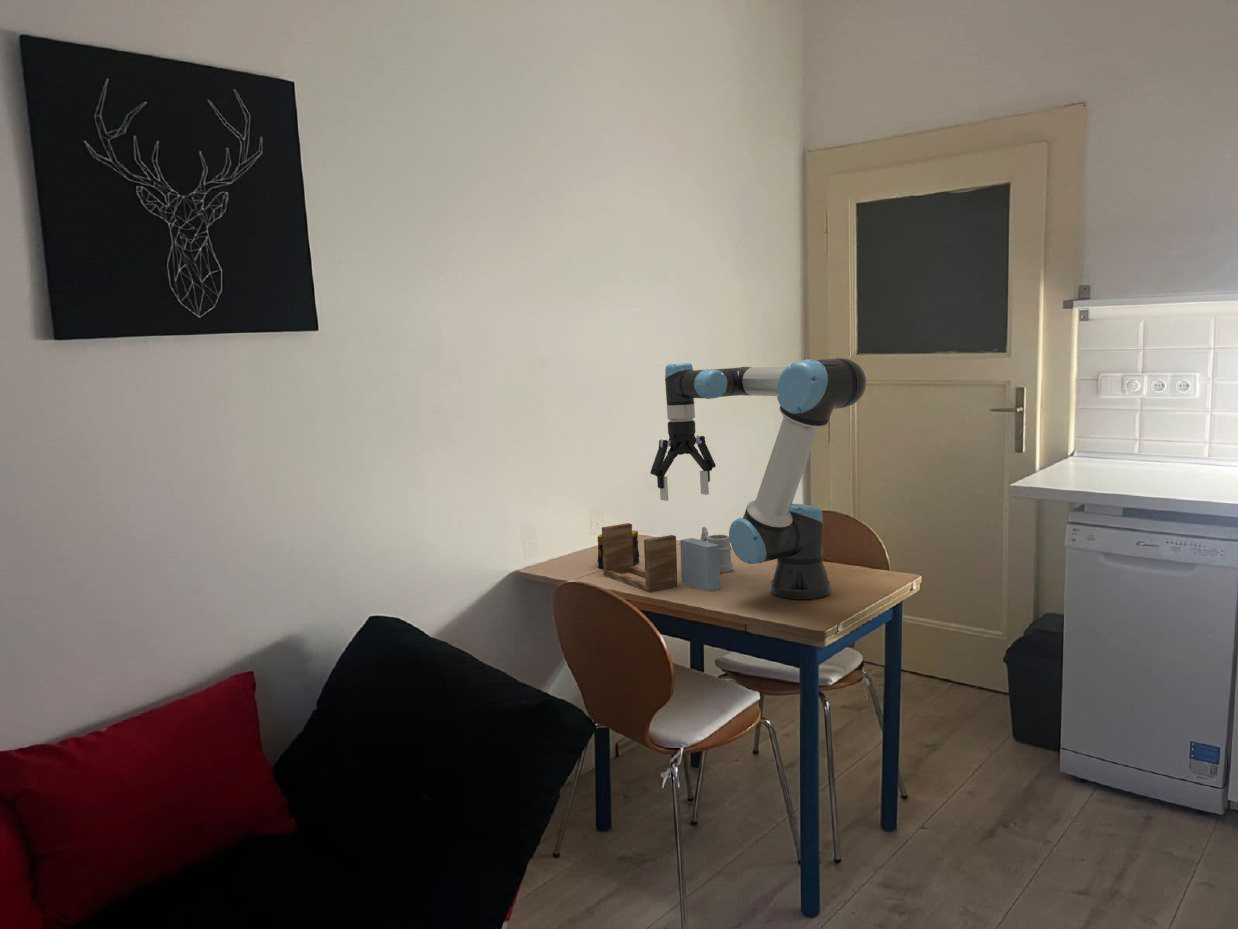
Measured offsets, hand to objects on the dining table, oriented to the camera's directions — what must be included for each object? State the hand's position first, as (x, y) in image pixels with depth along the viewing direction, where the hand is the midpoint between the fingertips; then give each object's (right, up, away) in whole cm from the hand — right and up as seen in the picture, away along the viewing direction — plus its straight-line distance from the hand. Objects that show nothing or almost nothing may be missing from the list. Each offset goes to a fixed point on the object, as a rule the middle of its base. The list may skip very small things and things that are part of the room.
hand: (684, 497), depth 254 cm
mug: (+10, -22, +14) cm, 27 cm away
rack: (-12, -23, +4) cm, 27 cm away
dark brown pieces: (-18, -22, +23) cm, 36 cm away
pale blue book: (+4, -24, -3) cm, 24 cm away
